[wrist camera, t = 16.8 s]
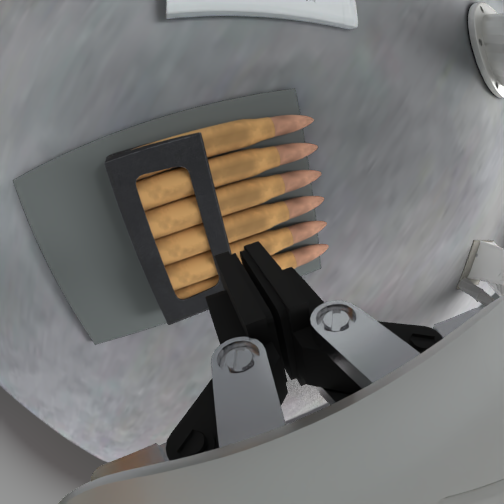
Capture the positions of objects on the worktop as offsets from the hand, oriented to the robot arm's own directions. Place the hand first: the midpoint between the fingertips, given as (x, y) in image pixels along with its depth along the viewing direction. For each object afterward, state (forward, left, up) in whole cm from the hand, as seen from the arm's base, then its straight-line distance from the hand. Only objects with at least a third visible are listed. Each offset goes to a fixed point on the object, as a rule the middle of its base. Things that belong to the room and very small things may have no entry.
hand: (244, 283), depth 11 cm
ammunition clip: (+5, 0, -7) cm, 8 cm away
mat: (+2, 0, -9) cm, 9 cm away
